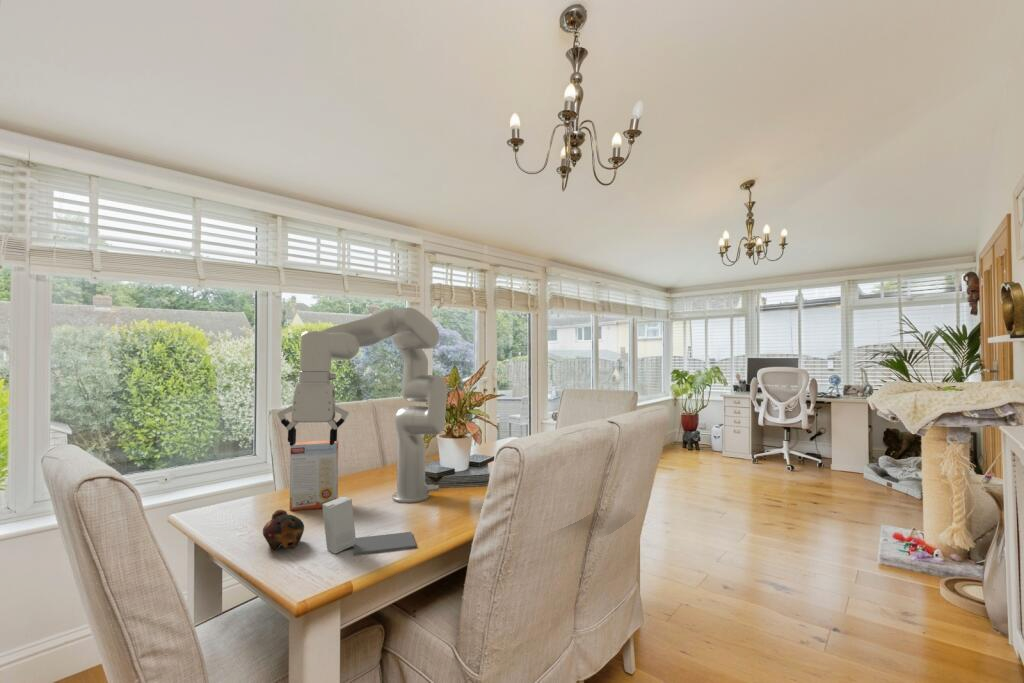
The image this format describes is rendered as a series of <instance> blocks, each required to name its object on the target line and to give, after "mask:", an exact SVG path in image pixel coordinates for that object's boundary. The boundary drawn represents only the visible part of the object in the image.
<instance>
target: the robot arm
mask: <svg viewBox="0 0 1024 683" xmlns="http://www.w3.org/2000/svg"><path fill="white" fill-rule="evenodd" d="M390 337H391V340H392V342H393V344H394V345H395V347H396V348H397V349H398V351H399V353H400V354H401V356H402V359H403V370H402V381H401V382H402V385H401V394H402V395H401V396H402V397H403V399H404V400H405V401H408V402H412V403H413V402H414V403H427V406H423V405H404V406H403V407H402V406H401V407H400V408H399V409H398V410H397V411H396V413H395V416H394V425H395V431H396V436H397V461H396V462H397V464H396V466H397V474H396V476H397V478H396V479H397V480H396V491H395V492H394V493H393V494H392V496H391V498H392V501H395V502H398V503H402V504H403V503H405V504H407V503H408V504H411V503H412V504H413V503H418V502H423V501H426V500H428V499H429V498H430V492H438V491H440V487H439V486H440V485H438V484H437V485H435V484H427V483H426V450H427V449H426V443H425V439H424V438H423V436H425V435H427V436H437V435H440V434H441V433H442V431H443V430H444V428H445V423H446V412H447V397H448V387H447V383H446V380H445V379H444V378H443V377H442V376H440V375H438V374H437V375H435V374H429V359H428V357H427V355H426V353H425V351H424V350H425V349H426V350H427V349H428V350H429V349H433V348H435V347H436V346H437V345H439V344H438V343H439V341H440V330H439V329H438V327H437V325H435V323H433V321H431V320H430V319H429V318H428V317H427V316H425V314H423V313H422V312H421V311H419V310H418V309H416V308H413V307H393V308H388V309H387V308H386V309H383V310H381V311H377V312H376V313H374V314H371V315H369V316H366V317H364V318H360V319H355V320H353V321H350V322H346V323H342V324H337V325H334V326H331V327H328V328H326V329H323V330H321V331H320V330H319V331H318V330H309V331H304V332H302V333H301V335H300V350H299V351H300V353H299V375H298V376H299V378H298V379H299V382H298V383H296V385H295V388H294V393H293V398H292V399H293V400H292V405H291V406H288V407H286V408H285V409H282V410H280V411H278V412H277V414H276V415H277V417H278V419H279V421H280V423H281V424H282V425H283V427H285V428H286V430H287V442H288V443H289V446H290V447H291V446H293V445H294V444H296V442H297V441H296V440H297V429H296V428H295V427H296V426H297V425H298V424H299V423H328V425H329V426H330V427H331V429H330V430H329V441H330V445H333V444H334V443H335V441H337V440H338V428H339V427H341V426H342V425H343V424H344V423H345V421H346V419H347V417H348V416H349V414H350V413H349V411H347V410H346V409H343V408H342V407H340V406H338V405H336V392H335V385H334V383H331V382H332V380H337V373H335V374H334V373H333V372H332V371H331V370H332V361H333V360H334V361H347V360H350V359H353V358H354V357H356V356H357V354H358V353H359V352H360V348H361V347H368V346H373V345H377V344H379V343H381V342H382V341H384V340H386V339H388V338H390ZM423 349H424V350H423ZM289 413H291V421H290V420H288V419H287V417H286V415H287V414H289ZM336 413H338V414H340V415H341V417H340V418H339V420H338V421H336V420H335V418H336ZM422 435H423V436H422Z"/></svg>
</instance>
